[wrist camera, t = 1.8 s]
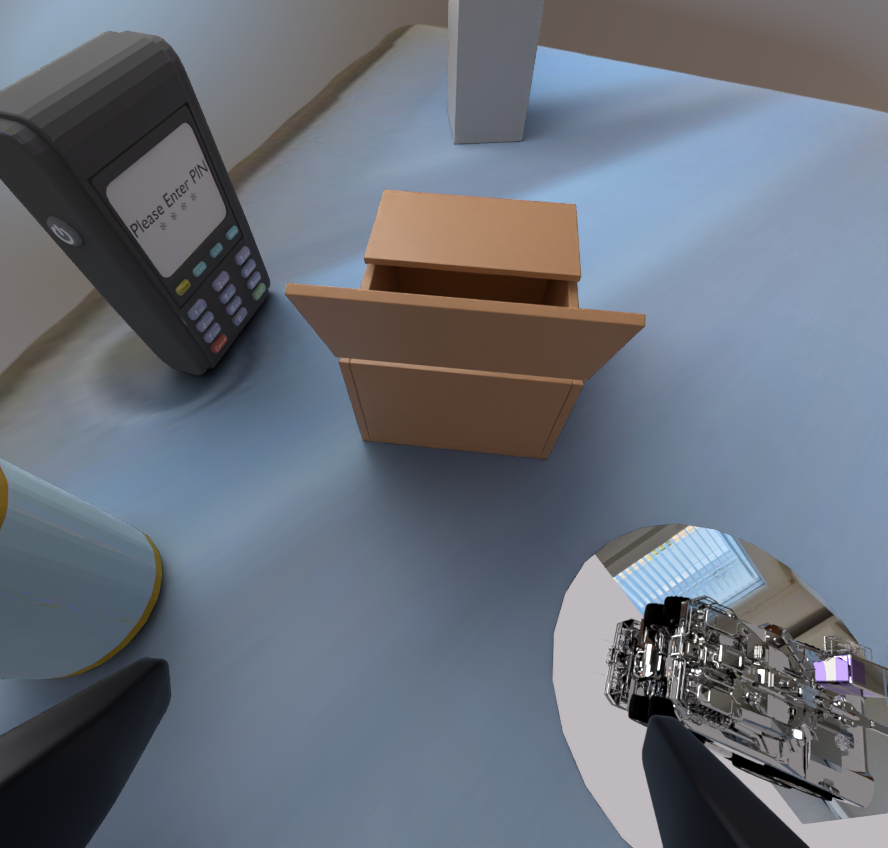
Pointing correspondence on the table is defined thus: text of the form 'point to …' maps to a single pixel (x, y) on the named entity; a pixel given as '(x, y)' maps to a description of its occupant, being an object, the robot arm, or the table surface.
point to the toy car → (721, 683)
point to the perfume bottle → (491, 67)
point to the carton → (471, 277)
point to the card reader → (136, 193)
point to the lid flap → (464, 331)
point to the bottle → (67, 580)
